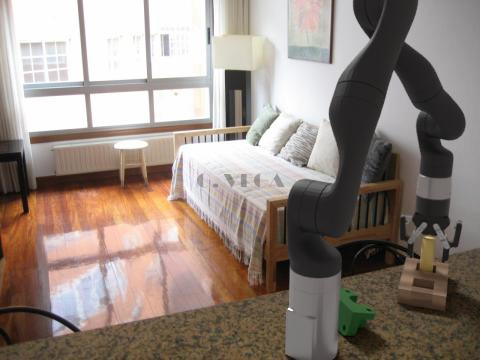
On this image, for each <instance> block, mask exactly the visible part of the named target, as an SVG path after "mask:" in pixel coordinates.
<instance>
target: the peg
mask: <svg viewBox="0 0 480 360" xmlns="http://www.w3.org/2000/svg"><path fill="white" fill-rule="evenodd" d="M421 239H422V241H421V249H420V250H421V252H420V269H419V271H425V272H433V263H434V262H435V261H434V260H435V251H436V242H437V239H436V238H435V237H434V236H423V237H422V238H421Z"/></svg>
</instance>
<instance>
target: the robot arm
mask: <svg viewBox="0 0 480 360" xmlns="http://www.w3.org/2000/svg"><path fill="white" fill-rule="evenodd" d="M418 6H419V0H352V11H353V14H354V17H355V20H356V22H357V23H358V25H359V26H360V28H361V29H362V31H363V32H364V34H365V35H366V36H367V37H368V39H369V41H368V42H367V43H366V45H365V46H364V47H363V48H362V49H361V50H360V51H359V53H357V55H355V56H354V58H353V59H352V60H351V61H350V63H349V64H348V65H347V66H346V67H345V69H344V70H343V71H342V73H341V74H340V76H339V78H338V79H337V82H336V84H335V88H334V90H333V94H332V97H331V100H330V103H329V107H328V120H329V125H330V127H331V130H332V131H331V132H332V134H333V137H334V140H335V143H336V147H337V152H338V168H337V172H336V173H337V174H336V177H335V180H334V183H333V182H327V181H320V180H315V179H309V178H302V179H299V180H296V181H295V182H294V184H293V185H292V186H291V189H290V190H289V193H288V196H287V201H286V212H285V213H286V215H285V217H286V218H285V219H286V220H285V221H286V238H287V239H286V241H287V242H286V243H287V244H286V246H287V249H286V251H287V255H288V258H289V288H288V289H289V290H288V291H289V294H288V295H289V299H288V300H289V302H288V308H287V309H286V310H285V349H284V350H285V351H284V352H285V353H284V354H285V355H287V356H288V357H290V358H293V359H294V360H334V359H335V358H336V356H337V354H338V342H339V340H338V339H339V330H338V323H339V303H340V288H341V283H342V282H341V281H342V280H341V278H342V267H343V266H342V265H343V264H342V263H343V261H342V254H341V252H340V251H339V250H338V248H336V247H334V245H332V244H330V243H328V242H327V240H325V239H324V238H323V237H328V238H332V239H340V238H342V237H343V236H344V235H346V233H347V232H348V230H349V229H350V226H351V224H352V221H353V219H354V215H355V212H356V206H357V203H358V198H359V193H360V189H361V184H362V181H363V175H364V171H365V167H366V162H367V158H368V154H369V151H370V148H371V146H372V145H371V144H372V141H373V138H374V134H375V132H376V130H377V127H378V124H379V121H380V118H381V114H382V111H383V108H384V104H385V101H386V97H387V94H388V90H389V87H390V83H391V81H392V77H393V75H394V73H395V75H396V76H397V77H398V79H399V80H400V83H401V84H402V86H403V88H404V90H405V91H404V92H406V94H407V97H408V98H409V100H410V102H411V104H412V105H413V107H414V108H415V109H417V110H419V112H418V115H417V118H416V121H415V131H416V136H417V137H416V139H417V143H418V149H419V153H420V161H419V162H420V163H419V164H420V165H419V174H418V178H417V183H416V189H415V191H416V194H415V195H416V196H415V205H414V213H413V214H412V215H408V214H405V213H402V214H401V216H400V219H399V239H400V241H401V242H402V241H404V242H406V243H407V248H406V254H407V256H408V257H409V258H414V253H415V252H414V250H415V241H416V240H417V238H419V236H420V235H421V234H422V236H430V237H438V238H439V241H440V242H441V243H442V246H443V248H442V255H441V263H446V262H448V261H449V257H450V249H452V248H456V249H457V248H458V247H459V245H460V239H461V235H462V228H463V222H462V220H457V221H456V220H452V219H450V216H449V215H450V207H451V199H452V189H453V179H452V178H453V176H452V175H453V169H454V157H455V156H454V154H453V152H452V151H451V150H449V149H448V148H446V147H445V146H443V144H442V141H441V140H443V141H455V140H458V139H459V138H461V137H462V136H463V134H464V132H465V131H466V125H467V122H466V121H467V120H466V116H465V114H464V112H463V110H462V108H461V107H460V106H459V104H458V103H457V102H456V101H455V100H454V98H453V97H452V96H451V95H450V94H449V92H447V91H446V90H445V89H444V87H443V84H442V82H441V79H440V78H439V75H438V73H437V71H436V70H435V67H434V66H433V64H432V63H431V62H430V61H429V60H428V59H427V58H426V57H425V56H424V55H423V54H422V53H420V52H419V51H417V50H416V49H415V48H414V47H413V46H411V45H410V44H409V43H407V42H406V40H407V36H408V34H409V33H410V29H411V27H412V26H413V22H414V20H415V17H416V15H417V10H418ZM410 222H412V223H413V224H414V226H415V228H414V229H413V231H412V233H410V234H407V226H408V225H409V224H410ZM449 226H450V227H451V230H452V231H454V234H453V239H452V240H450V239H449V238H448V236H447V233H446V231H445V230H446V229H448V227H449ZM322 236H323V237H322Z"/></svg>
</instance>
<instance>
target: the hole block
mask: <svg viewBox="0 0 480 360" xmlns="http://www.w3.org/2000/svg"><path fill="white" fill-rule="evenodd" d="M420 259H421V258H420ZM420 259H419V258H414V257H413V258H410V257H406V258H405V261H404V265H403V268H402V271H401V275H400V276H401V277H400V280H399V284H398V287H397V288H398V289H397V297H396V299H397V300H396V303H397V304H403V305H409V306H412V307H413V306H414V307H420V308H425V309H430V310H431V309H432V310H435V311H436V310H437V311H440V312H442V311H443V312H445V311H446V304H447V294H448V293H447V292H448V282H449V280H448V279H449V264H450V263H447V262H445V263H442V262H439V261H434V263H433V272H425V271H419V269H420Z"/></svg>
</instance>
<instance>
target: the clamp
mask: <svg viewBox="0 0 480 360" xmlns="http://www.w3.org/2000/svg"><path fill="white" fill-rule="evenodd" d="M358 297H359V296H358V295H357V293H355V292H354V291H353V290H351V289H348V288H342V287H340V303H339V323H338V332H340V333H341V335H343V336H349V337H351V336H352V337H353V336H355V335H357V332H358V329H359V328H366V326H367V321H373V320H374V319H375V316H376V313H377V311H376V310H375V309H373V308H372V306H371V305H369V306H368V305H363V304H359V303H357V300H358Z"/></svg>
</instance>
